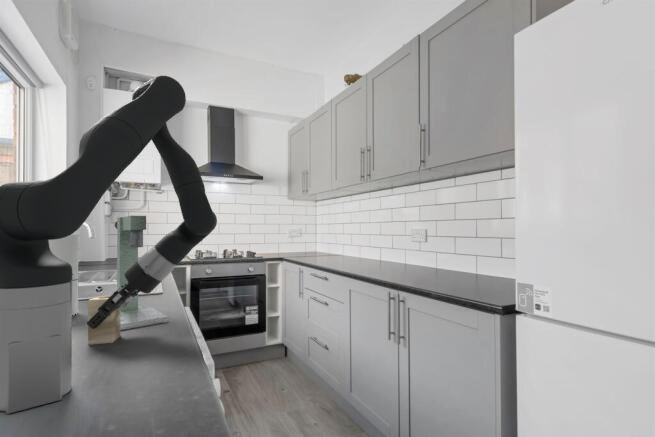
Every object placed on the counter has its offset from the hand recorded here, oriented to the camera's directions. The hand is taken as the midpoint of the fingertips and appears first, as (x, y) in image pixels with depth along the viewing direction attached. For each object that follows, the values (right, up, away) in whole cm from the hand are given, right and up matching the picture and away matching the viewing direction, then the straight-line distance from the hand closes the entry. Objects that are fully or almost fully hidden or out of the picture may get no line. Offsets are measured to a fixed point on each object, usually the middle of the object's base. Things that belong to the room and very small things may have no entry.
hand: (96, 322), depth 81 cm
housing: (+2, -4, 0) cm, 5 cm away
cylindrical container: (-28, -6, +27) cm, 40 cm away
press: (-6, -5, +25) cm, 26 cm away
